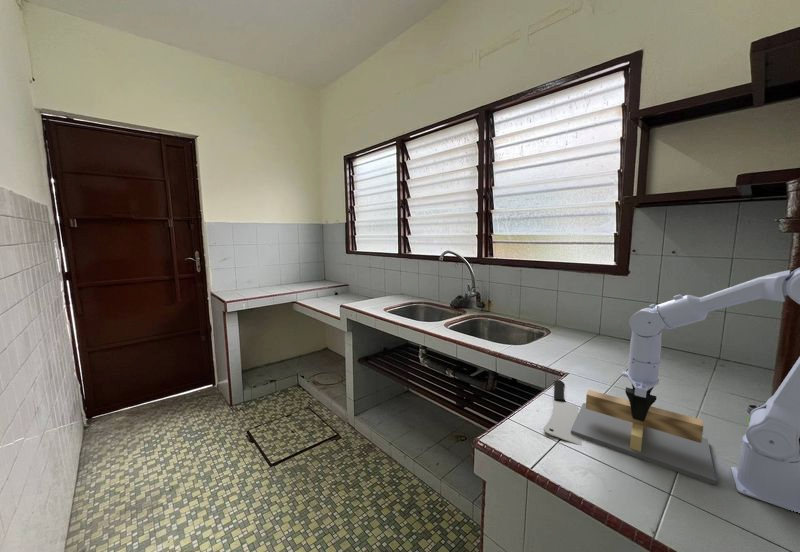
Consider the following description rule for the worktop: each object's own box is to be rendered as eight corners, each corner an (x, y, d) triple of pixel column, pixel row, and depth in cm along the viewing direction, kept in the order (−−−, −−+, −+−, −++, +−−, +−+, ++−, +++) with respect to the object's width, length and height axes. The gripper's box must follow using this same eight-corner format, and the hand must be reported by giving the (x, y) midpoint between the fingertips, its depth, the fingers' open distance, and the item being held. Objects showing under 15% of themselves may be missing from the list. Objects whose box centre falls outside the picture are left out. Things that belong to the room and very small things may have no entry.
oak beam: (700, 436, 70) (702, 419, 70) (701, 443, 68) (703, 426, 68) (587, 403, 84) (588, 389, 84) (585, 408, 82) (586, 394, 82)
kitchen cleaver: (589, 445, 74) (543, 429, 78) (588, 451, 74) (542, 435, 79) (584, 387, 101) (550, 377, 106) (583, 391, 101) (549, 382, 106)
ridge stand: (707, 442, 75) (709, 425, 74) (715, 485, 63) (718, 464, 62) (583, 405, 91) (583, 391, 91) (570, 433, 79) (571, 417, 78)
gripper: (626, 346, 82) (622, 394, 84) (620, 365, 71) (615, 420, 73) (661, 352, 78) (656, 403, 79) (660, 373, 67) (654, 432, 68)
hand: (639, 412), depth 76 cm, fingers open, 7 cm apart
